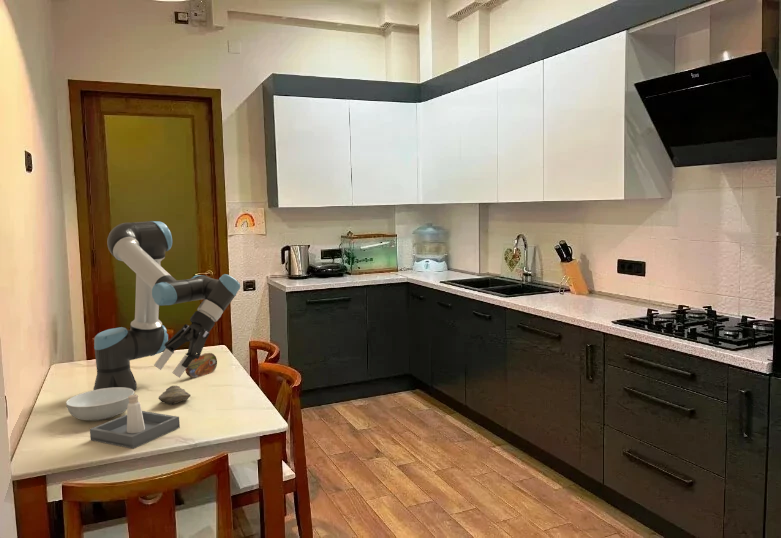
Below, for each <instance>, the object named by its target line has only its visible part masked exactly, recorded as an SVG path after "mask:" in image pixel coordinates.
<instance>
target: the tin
mask: <svg viewBox="0 0 781 538" xmlns="http://www.w3.org/2000/svg"><path fill="white" fill-rule="evenodd" d="M217 359H218V358H217V356H216V355H215V354H214V353H212V352H205V353H201V354H200V357H199V358H198V359H196V358H195V359H194V360H192V361H191V363H190V364H189V365H188V367H187V368H186V370H185V371H184V372H185V374H186V375H187V376H188V377H190V378H194V379H197V378H200V377H203V376H205V375H209V374H211V373H213V372H214V371H215V370H216V368H217V365H218V360H217Z"/></svg>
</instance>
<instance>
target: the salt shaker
mask: <svg viewBox="0 0 781 538" xmlns="http://www.w3.org/2000/svg"><path fill="white" fill-rule="evenodd" d="M128 398H129V404H128V406H127V410H126V415H127V433H131V434H132V433H139V432H141V431H143V430H145V425H144V420H143V415H142V411H143V409H142V406H141V401H139V395H138V394H134V395H130V396H128Z"/></svg>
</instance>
